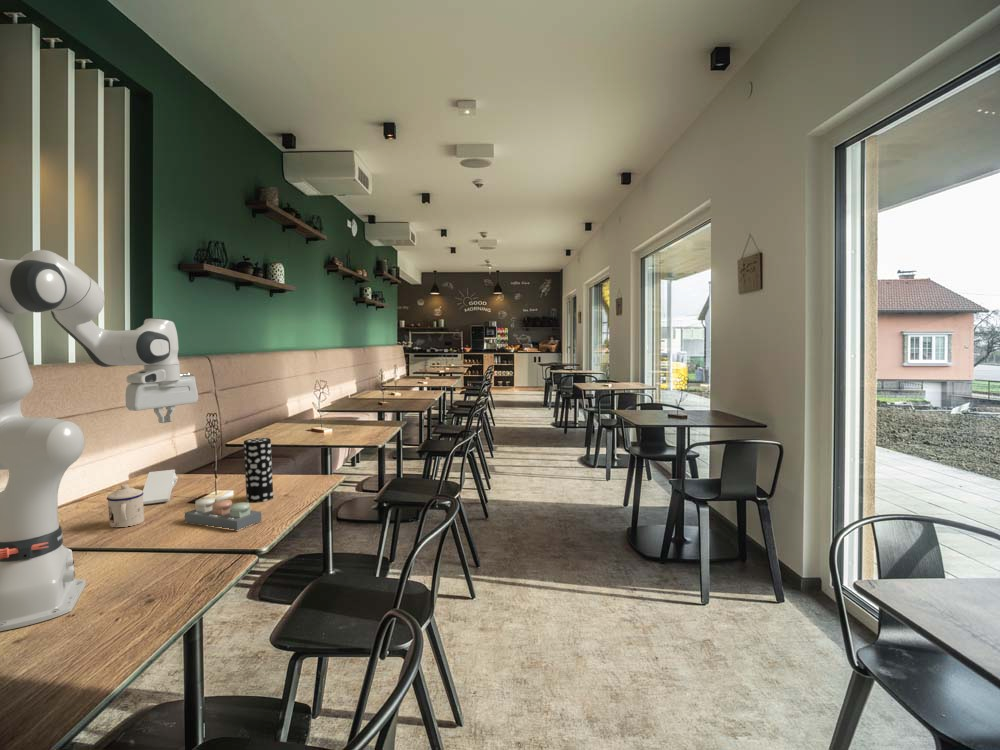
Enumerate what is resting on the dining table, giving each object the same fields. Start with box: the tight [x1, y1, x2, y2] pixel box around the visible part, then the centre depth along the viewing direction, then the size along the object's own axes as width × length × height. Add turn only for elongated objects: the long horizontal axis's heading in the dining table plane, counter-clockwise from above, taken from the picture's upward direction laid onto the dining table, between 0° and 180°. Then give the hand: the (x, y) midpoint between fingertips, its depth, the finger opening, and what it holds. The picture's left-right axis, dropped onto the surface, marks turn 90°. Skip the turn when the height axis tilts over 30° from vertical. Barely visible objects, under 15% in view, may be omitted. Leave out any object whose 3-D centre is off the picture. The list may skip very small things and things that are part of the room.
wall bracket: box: [142, 469, 179, 505], centre depth 199 cm, size 10×7×28 cm
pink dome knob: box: [212, 499, 233, 515], centre depth 168 cm, size 5×5×5 cm
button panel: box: [184, 508, 262, 530], centre depth 169 cm, size 21×9×3 cm, turn 67°
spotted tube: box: [243, 437, 274, 503], centre depth 191 cm, size 8×8×20 cm
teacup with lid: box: [106, 483, 145, 528], centre depth 167 cm, size 12×9×12 cm
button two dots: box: [230, 501, 251, 518], centre depth 166 cm, size 5×5×5 cm
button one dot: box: [194, 497, 216, 513], centre depth 171 cm, size 5×5×5 cm
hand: (165, 422), depth 165 cm, fingers closed
